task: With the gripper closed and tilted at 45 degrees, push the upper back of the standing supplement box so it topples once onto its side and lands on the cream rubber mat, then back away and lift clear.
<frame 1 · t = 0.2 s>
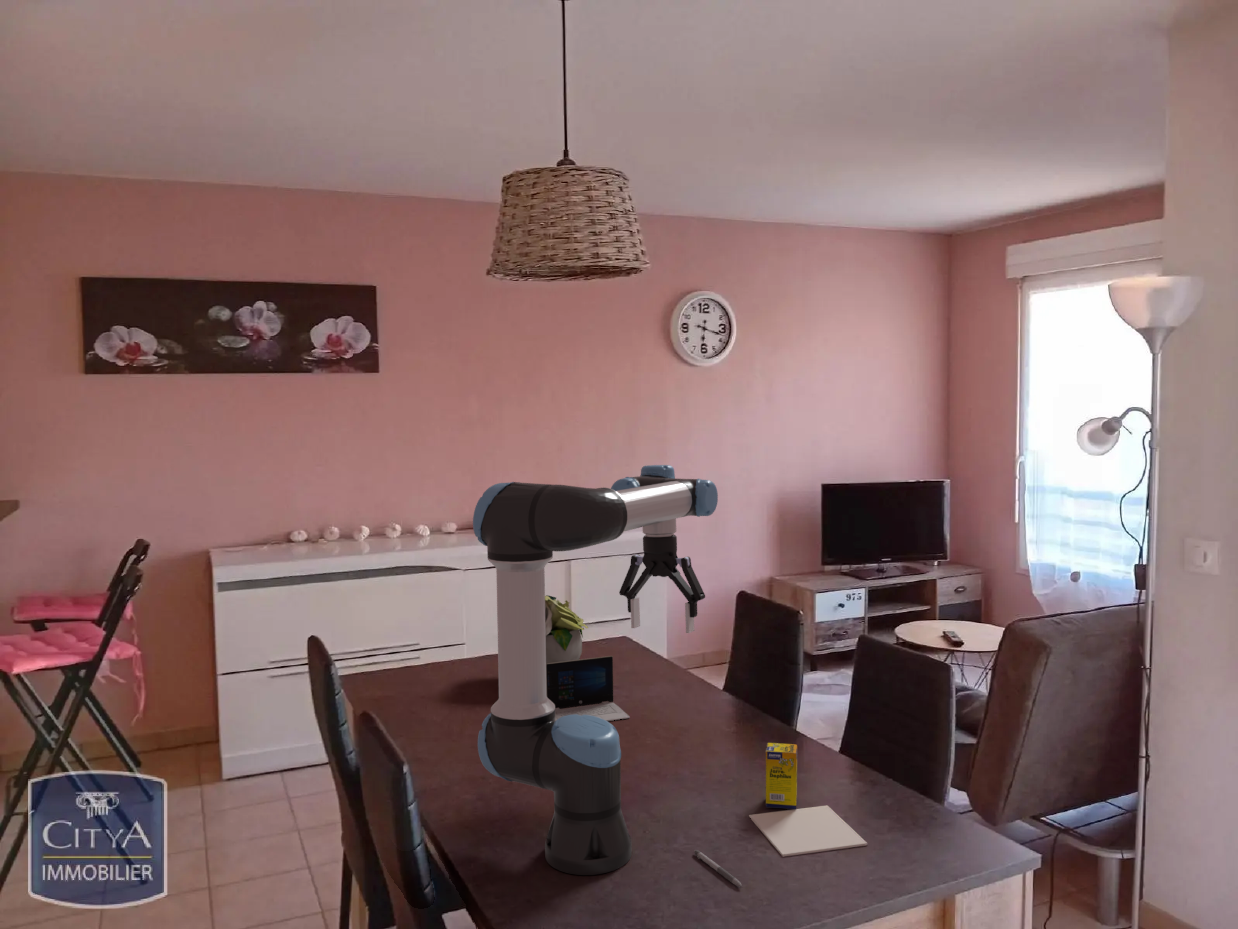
hand: (662, 629, 213), 28 cm above the table, tool pointing down, fingers open, 13 cm apart
pen: (717, 874, 160), on the table
laptop: (588, 717, 239), on the table
flower arrangement: (545, 680, 269), on the table
supplement box: (781, 804, 186), on the table, touching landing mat
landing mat: (806, 830, 175), on the table
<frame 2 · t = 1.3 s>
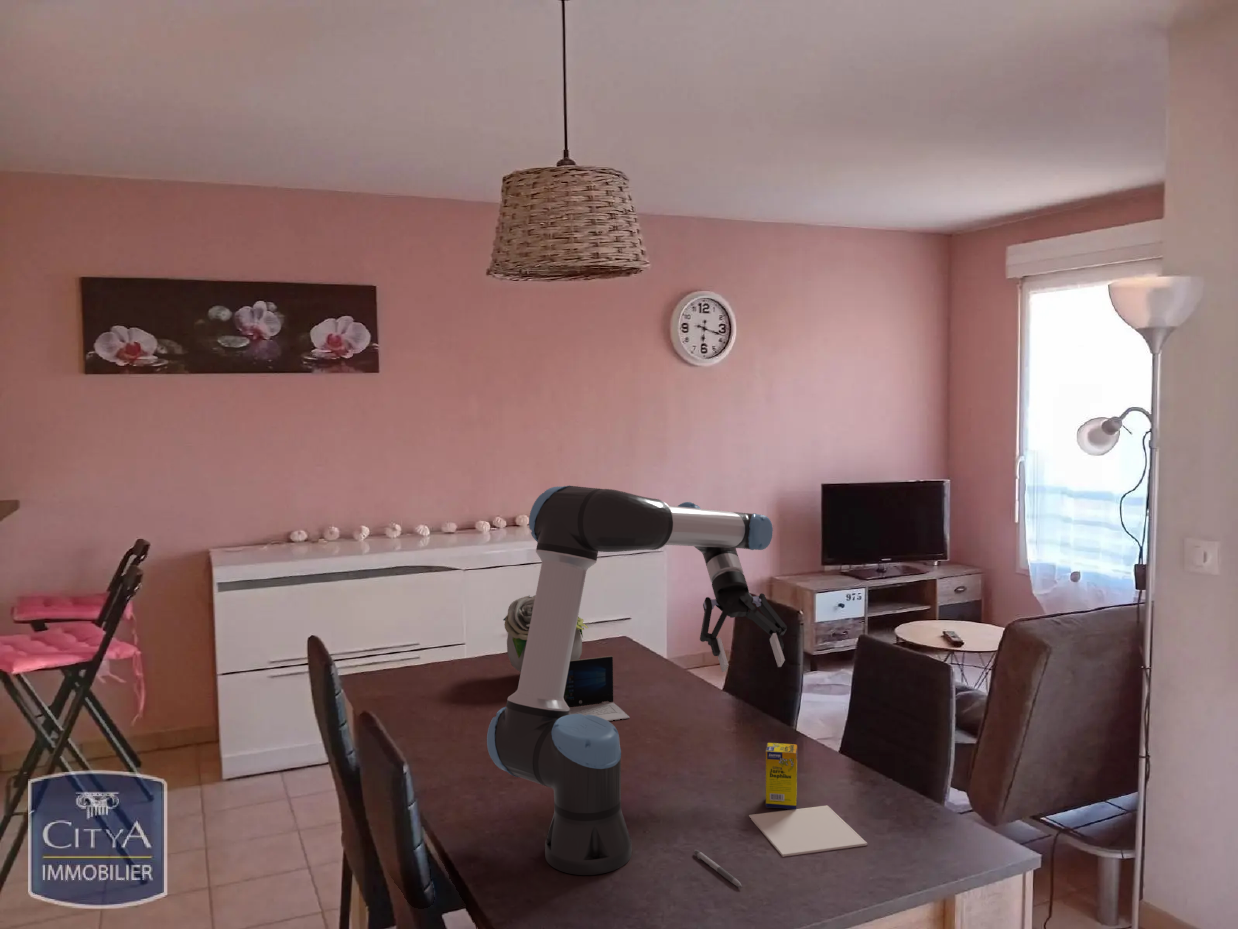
hand: (753, 666, 198), 23 cm above the table, tool tilted 45°, fingers open, 12 cm apart
nothing on the table moved.
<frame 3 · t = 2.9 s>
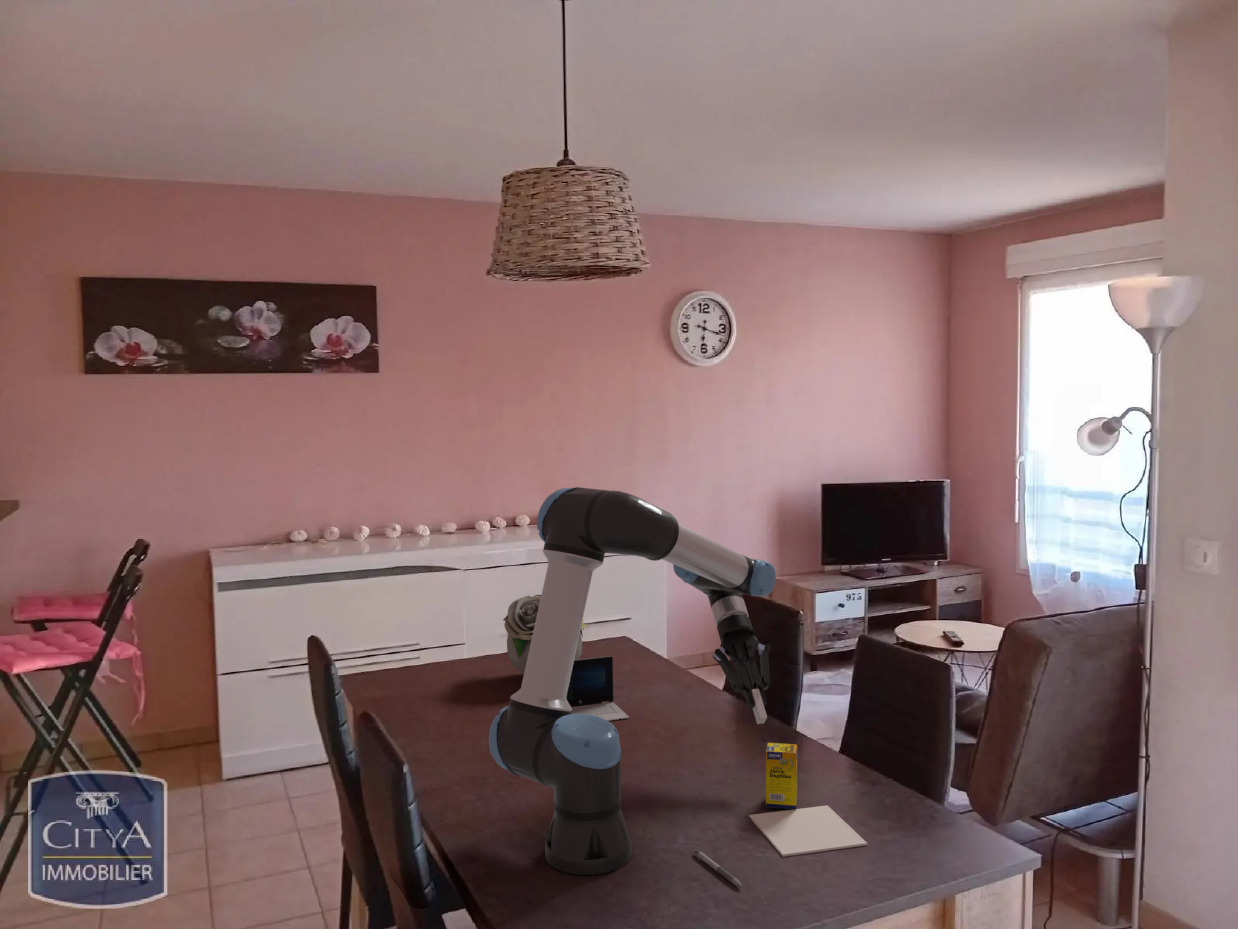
hand: (762, 720, 196), 13 cm above the table, tool tilted 45°, fingers closed
nothing on the table moved.
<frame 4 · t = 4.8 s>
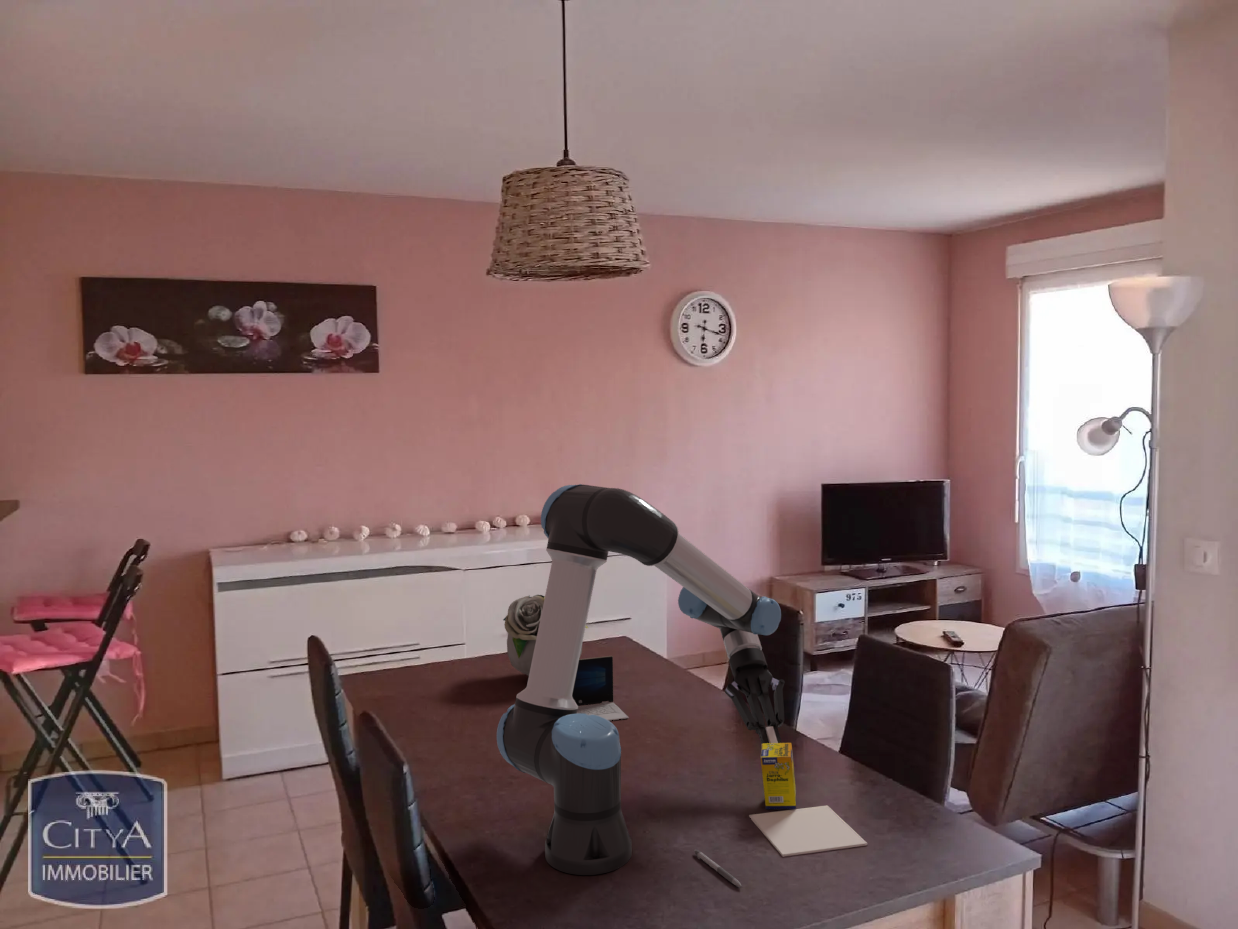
hand: (776, 760, 189), 7 cm above the table, tool tilted 45°, fingers closed
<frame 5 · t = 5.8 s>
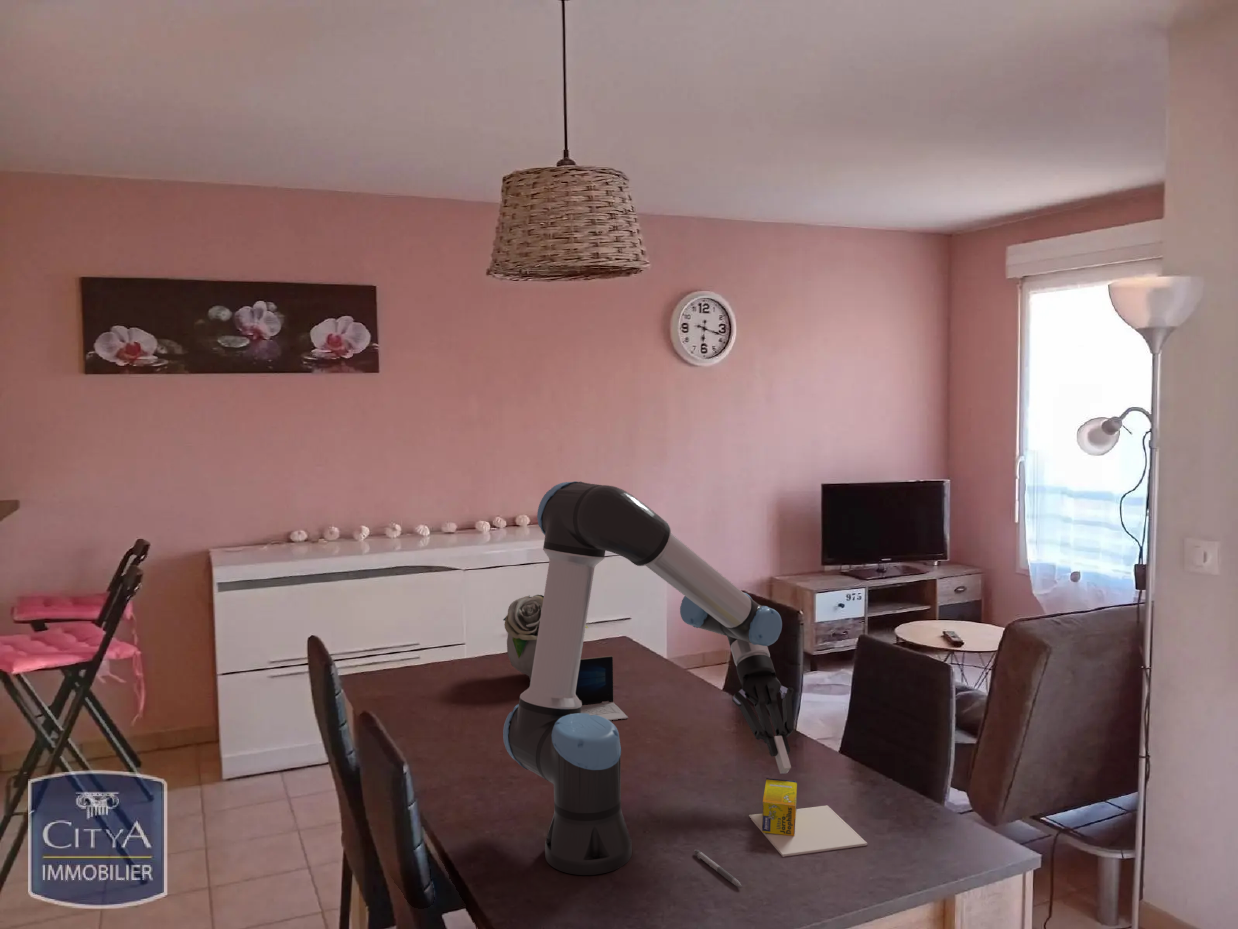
hand: (785, 770, 184), 7 cm above the table, tool tilted 45°, fingers closed
supplement box: (781, 793, 183), point 3 cm above the table, touching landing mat
everything else where it was.
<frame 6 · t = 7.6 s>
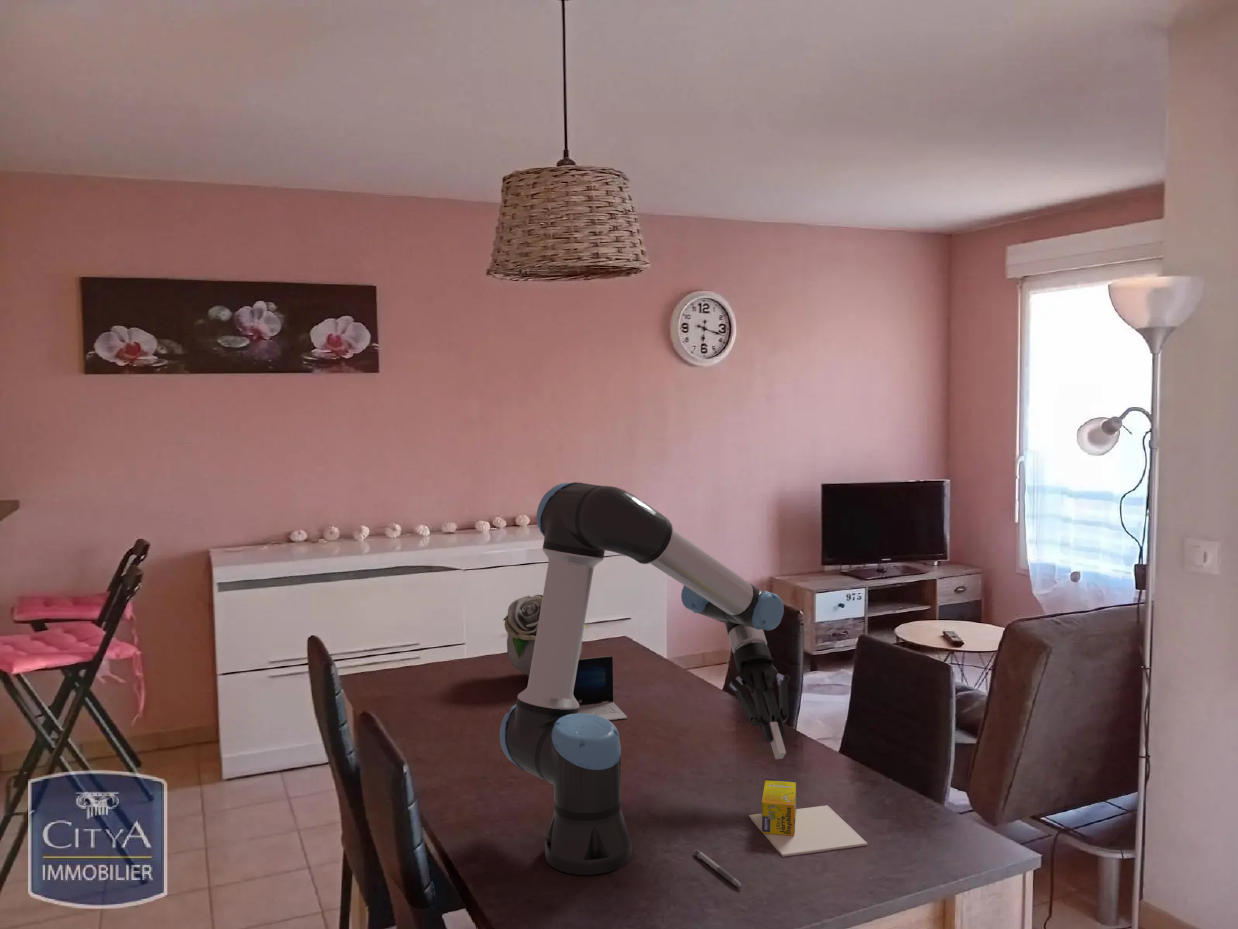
hand: (780, 756, 186), 9 cm above the table, tool tilted 45°, fingers closed
nothing on the table moved.
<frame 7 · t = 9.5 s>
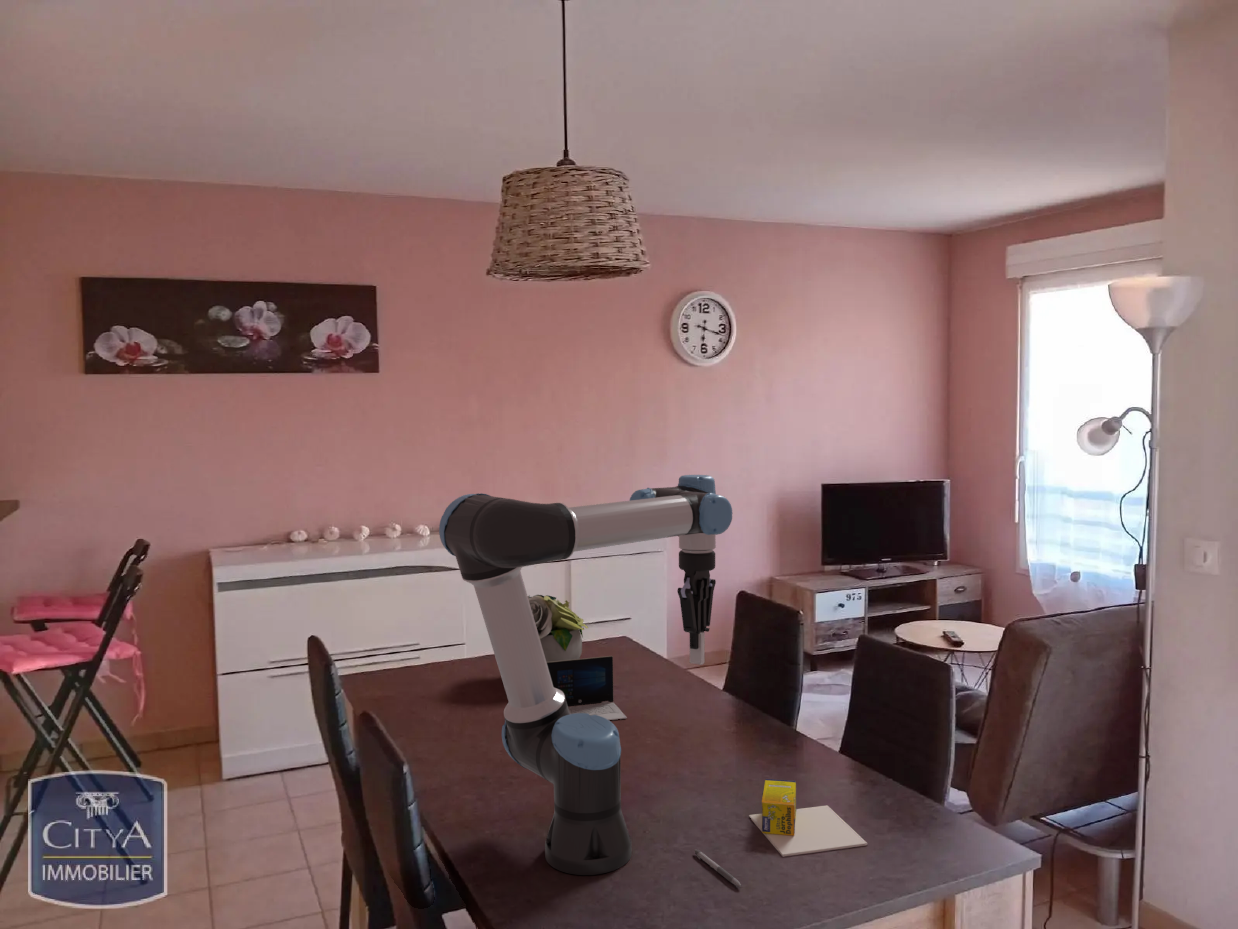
hand: (697, 663, 198), 24 cm above the table, tool pointing down, fingers closed
nothing on the table moved.
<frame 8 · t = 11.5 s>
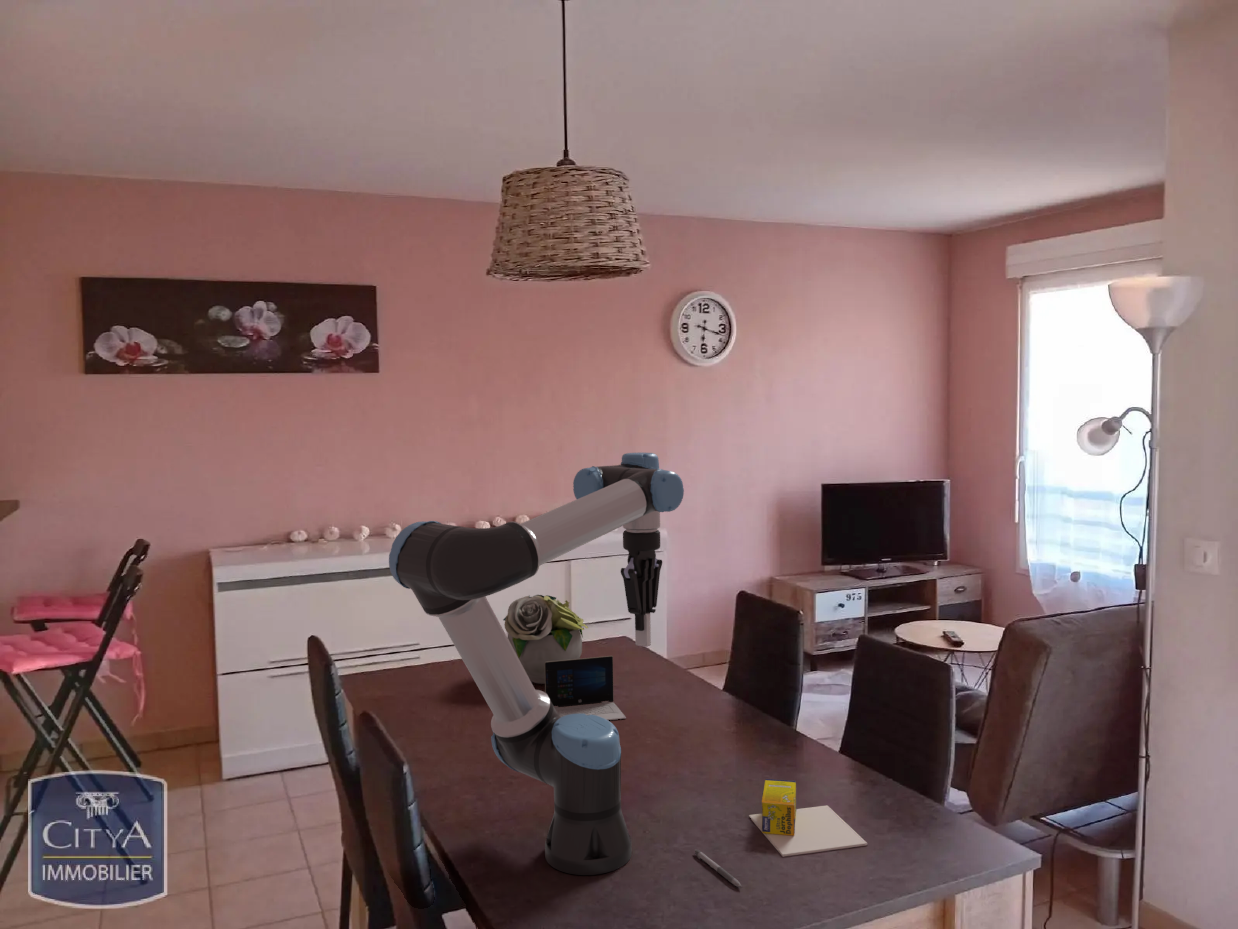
hand: (643, 645, 193), 29 cm above the table, tool pointing down, fingers closed
nothing on the table moved.
at the end: supplement box tilted 90°; supplement box touching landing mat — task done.
